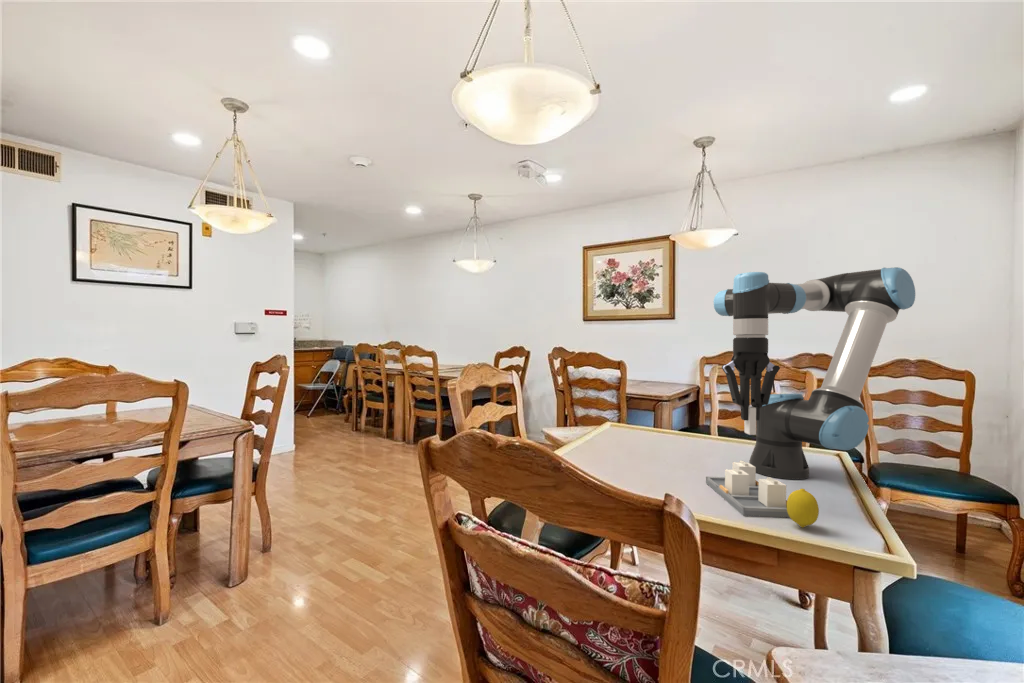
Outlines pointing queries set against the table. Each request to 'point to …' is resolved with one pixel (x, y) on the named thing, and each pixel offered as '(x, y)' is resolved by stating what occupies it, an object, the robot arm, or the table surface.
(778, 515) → the frame
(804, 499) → the lemon
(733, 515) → the table surface
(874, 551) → the table surface
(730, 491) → the cream ridged block
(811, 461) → the table surface
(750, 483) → the tab
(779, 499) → the tab
